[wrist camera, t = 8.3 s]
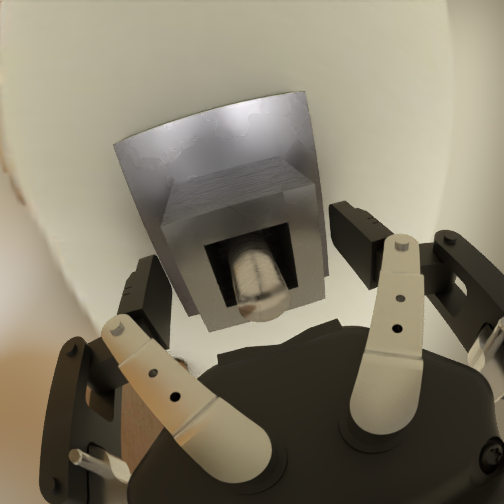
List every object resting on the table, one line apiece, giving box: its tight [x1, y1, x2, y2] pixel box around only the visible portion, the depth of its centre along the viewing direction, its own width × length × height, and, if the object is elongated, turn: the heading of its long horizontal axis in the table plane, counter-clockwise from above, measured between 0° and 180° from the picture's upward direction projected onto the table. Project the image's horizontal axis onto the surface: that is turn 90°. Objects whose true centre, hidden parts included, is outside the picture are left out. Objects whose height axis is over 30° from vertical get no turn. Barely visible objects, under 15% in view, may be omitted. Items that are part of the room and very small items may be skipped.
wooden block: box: [86, 361, 188, 474], centre depth 16 cm, size 10×10×20 cm
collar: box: [161, 156, 325, 332], centre depth 13 cm, size 6×6×5 cm
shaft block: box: [113, 91, 329, 322], centre depth 13 cm, size 12×10×9 cm
